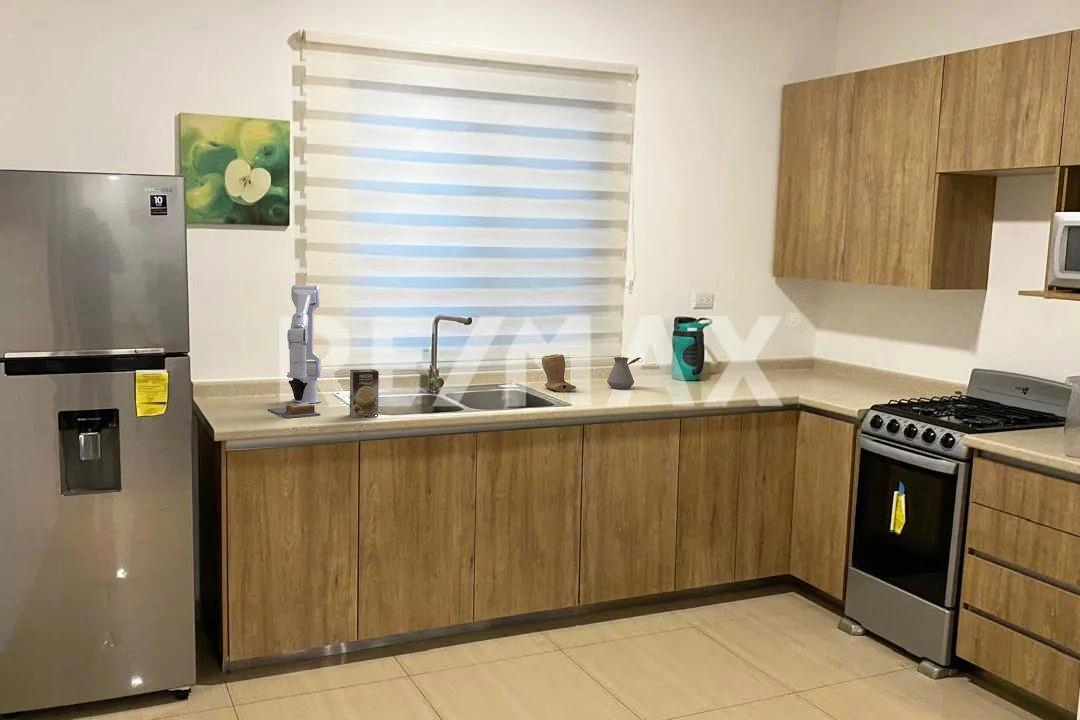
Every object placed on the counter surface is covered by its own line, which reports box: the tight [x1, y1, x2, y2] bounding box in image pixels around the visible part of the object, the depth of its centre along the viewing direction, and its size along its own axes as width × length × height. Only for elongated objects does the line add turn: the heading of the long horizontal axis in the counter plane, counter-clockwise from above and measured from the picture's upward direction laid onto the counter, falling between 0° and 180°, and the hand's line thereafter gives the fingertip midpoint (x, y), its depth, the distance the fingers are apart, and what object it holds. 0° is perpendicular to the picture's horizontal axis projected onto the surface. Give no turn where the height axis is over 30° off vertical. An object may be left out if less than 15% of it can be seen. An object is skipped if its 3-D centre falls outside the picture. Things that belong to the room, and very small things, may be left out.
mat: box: [267, 406, 321, 419], centre depth 354 cm, size 18×12×1 cm, turn 36°
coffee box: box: [349, 368, 380, 418], centre depth 351 cm, size 9×6×16 cm
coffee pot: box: [606, 356, 643, 390], centre depth 420 cm, size 21×12×15 cm, turn 25°
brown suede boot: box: [541, 353, 577, 393], centre depth 416 cm, size 15×12×15 cm
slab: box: [285, 403, 316, 415], centre depth 352 cm, size 3×8×6 cm
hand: (298, 400), depth 353 cm, fingers closed
